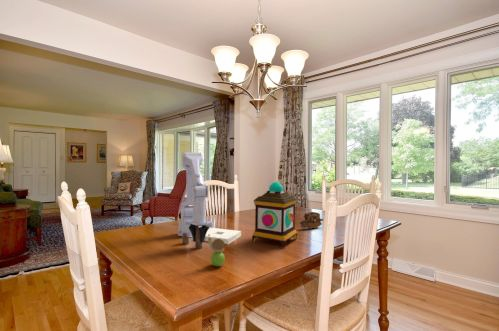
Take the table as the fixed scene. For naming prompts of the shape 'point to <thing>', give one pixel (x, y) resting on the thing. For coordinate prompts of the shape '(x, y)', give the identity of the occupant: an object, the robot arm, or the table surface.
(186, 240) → the short dowel
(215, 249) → the snail figurine
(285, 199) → the decorative lantern
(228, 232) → the hole board
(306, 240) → the table surface
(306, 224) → the wooden carving
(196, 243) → the tall dowel
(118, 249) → the table surface
